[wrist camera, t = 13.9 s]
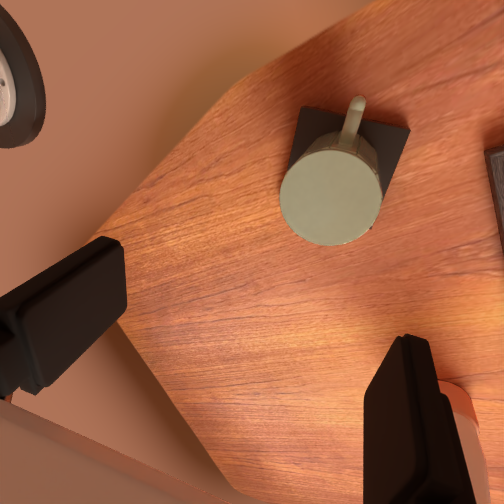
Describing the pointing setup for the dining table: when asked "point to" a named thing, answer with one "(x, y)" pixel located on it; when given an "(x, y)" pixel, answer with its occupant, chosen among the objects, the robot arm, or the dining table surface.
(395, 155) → the cup stand
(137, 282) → the dining table surface
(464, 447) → the pepper shaker
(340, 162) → the cup
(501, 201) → the picture frame
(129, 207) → the dining table surface
